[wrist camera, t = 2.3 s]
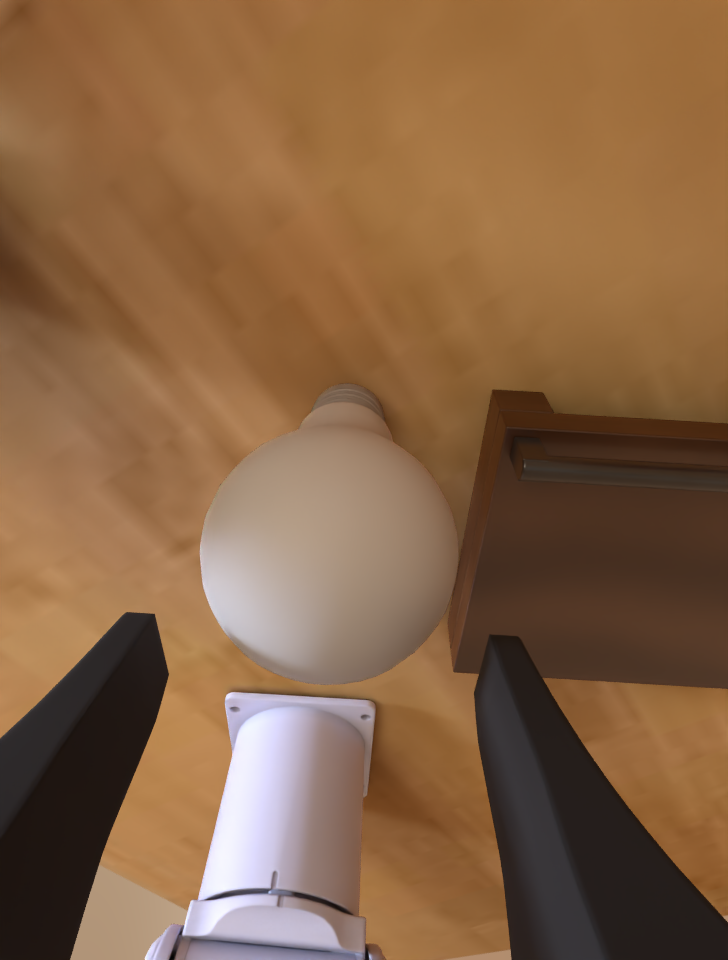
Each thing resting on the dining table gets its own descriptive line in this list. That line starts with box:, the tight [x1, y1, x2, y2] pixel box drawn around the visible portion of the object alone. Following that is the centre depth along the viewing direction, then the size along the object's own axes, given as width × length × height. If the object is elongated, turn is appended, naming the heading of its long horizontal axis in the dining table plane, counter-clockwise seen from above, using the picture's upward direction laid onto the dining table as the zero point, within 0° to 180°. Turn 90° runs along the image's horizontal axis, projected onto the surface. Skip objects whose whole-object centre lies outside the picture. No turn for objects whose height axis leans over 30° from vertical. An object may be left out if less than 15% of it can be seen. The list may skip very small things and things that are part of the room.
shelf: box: [448, 390, 728, 689], centre depth 21 cm, size 12×15×4 cm
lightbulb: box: [200, 383, 458, 685], centre depth 15 cm, size 6×6×11 cm
